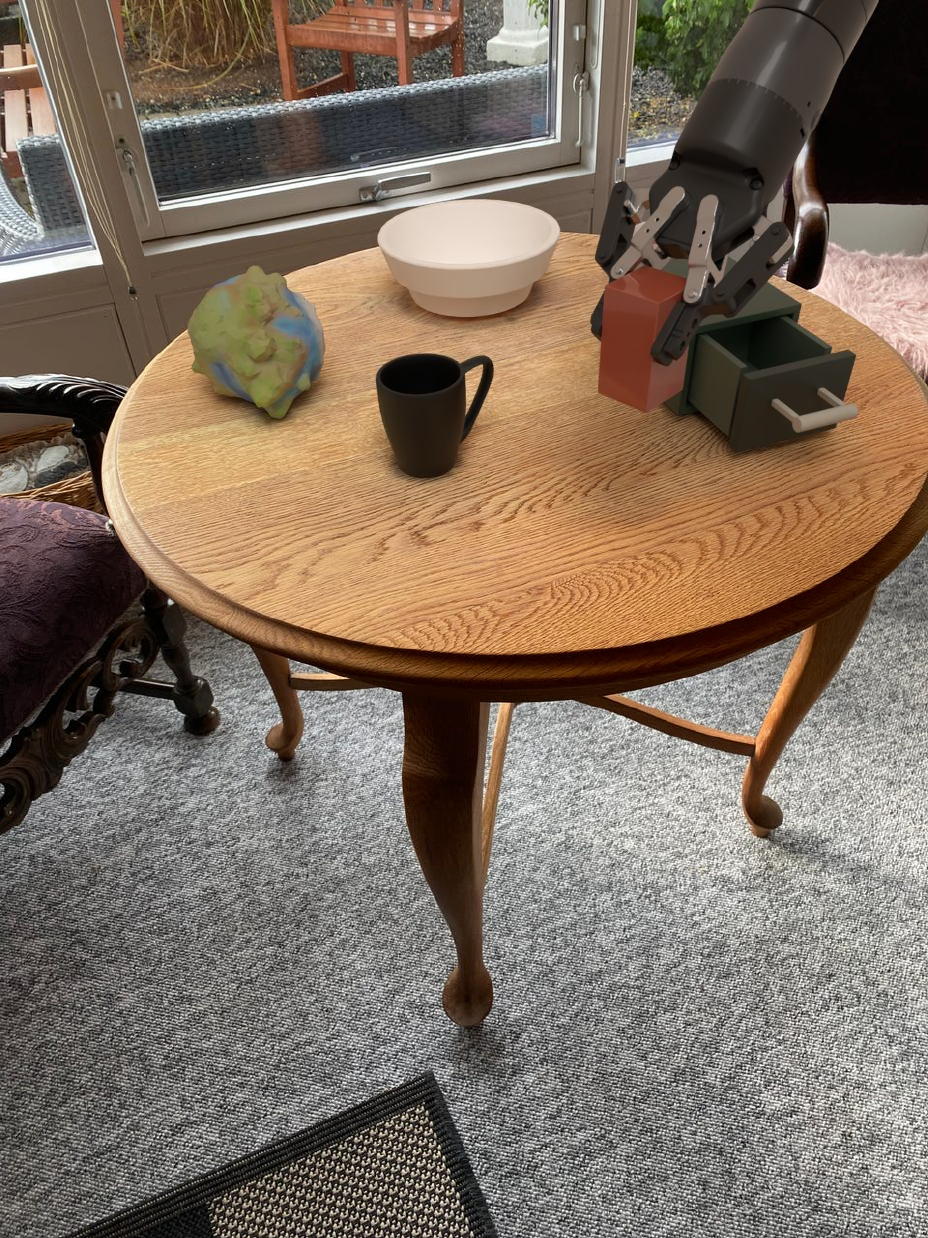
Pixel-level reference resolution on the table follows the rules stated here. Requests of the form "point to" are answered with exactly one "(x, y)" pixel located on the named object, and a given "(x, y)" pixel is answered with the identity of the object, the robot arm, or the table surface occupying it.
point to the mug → (429, 408)
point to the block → (639, 339)
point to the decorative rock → (257, 340)
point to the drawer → (769, 382)
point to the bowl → (469, 254)
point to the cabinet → (730, 322)
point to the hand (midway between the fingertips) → (629, 348)
